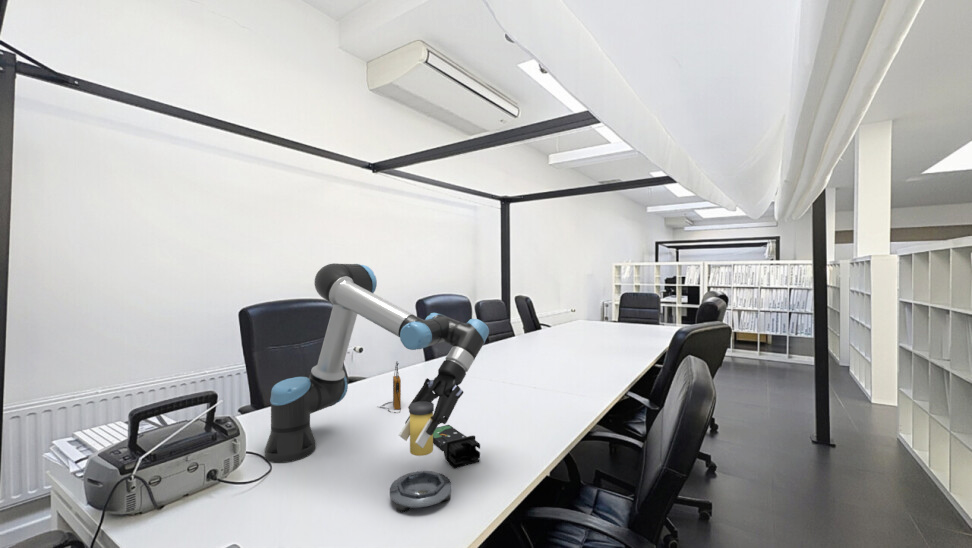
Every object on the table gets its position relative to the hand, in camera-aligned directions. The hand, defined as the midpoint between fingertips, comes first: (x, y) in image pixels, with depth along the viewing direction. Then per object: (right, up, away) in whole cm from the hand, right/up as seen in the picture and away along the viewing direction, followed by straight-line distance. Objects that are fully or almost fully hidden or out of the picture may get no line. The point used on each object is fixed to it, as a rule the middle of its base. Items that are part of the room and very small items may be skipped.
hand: (410, 441), depth 101 cm
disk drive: (+5, -17, +39) cm, 43 cm away
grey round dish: (+2, -16, +3) cm, 16 cm away
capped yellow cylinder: (+2, -4, +3) cm, 5 cm away
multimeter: (-24, -16, +72) cm, 78 cm away
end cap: (+12, -16, +23) cm, 31 cm away
